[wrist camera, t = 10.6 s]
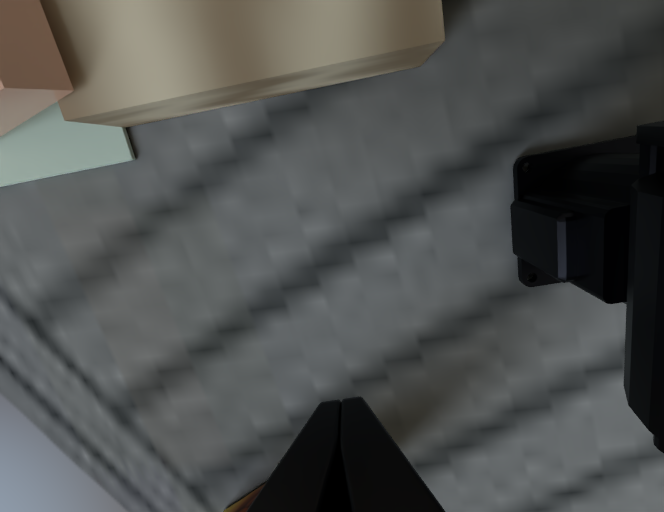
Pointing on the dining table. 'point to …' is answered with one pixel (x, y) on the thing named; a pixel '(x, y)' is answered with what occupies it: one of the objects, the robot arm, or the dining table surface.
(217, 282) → the dining table surface
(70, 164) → the mat
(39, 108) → the terracotta tile
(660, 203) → the robot arm
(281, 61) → the tan flat block
